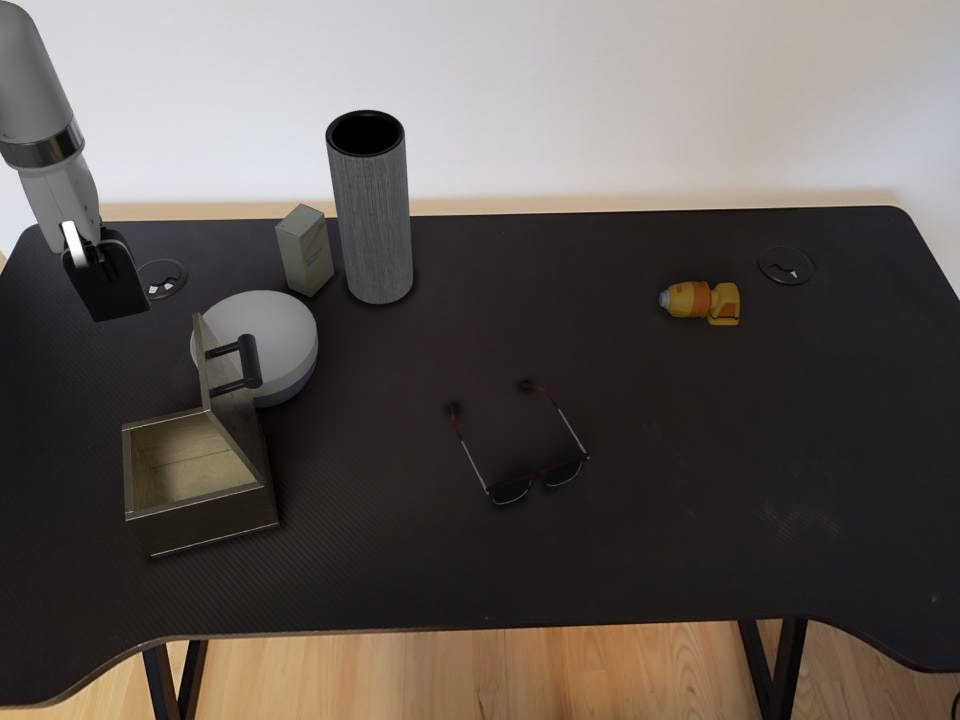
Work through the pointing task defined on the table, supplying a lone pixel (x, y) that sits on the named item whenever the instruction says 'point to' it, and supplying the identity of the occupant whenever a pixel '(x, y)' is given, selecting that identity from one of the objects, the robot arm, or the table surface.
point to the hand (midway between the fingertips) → (103, 268)
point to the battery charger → (115, 297)
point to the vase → (372, 203)
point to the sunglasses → (520, 484)
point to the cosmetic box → (305, 249)
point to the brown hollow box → (190, 484)
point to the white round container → (268, 340)
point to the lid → (231, 393)
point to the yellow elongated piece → (702, 301)
